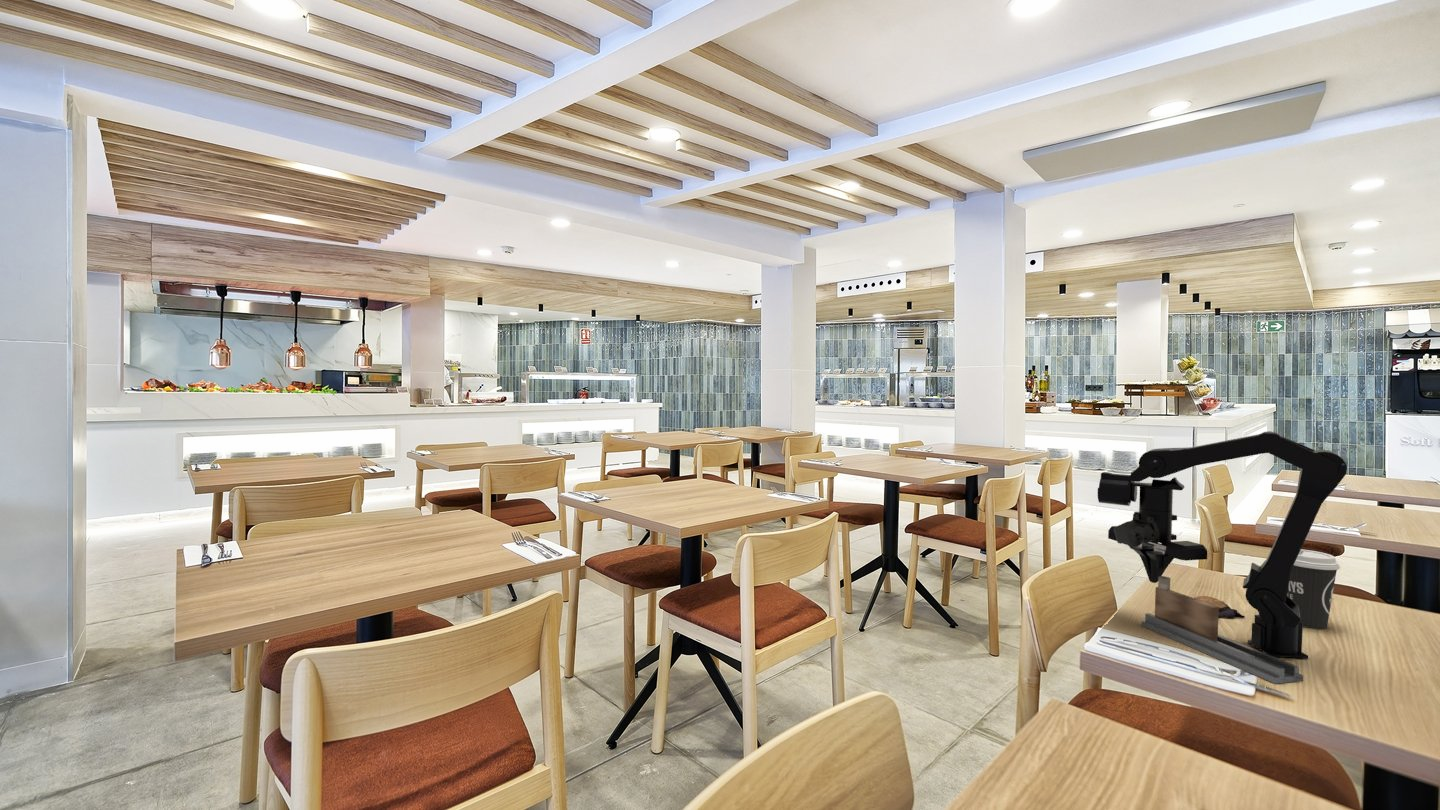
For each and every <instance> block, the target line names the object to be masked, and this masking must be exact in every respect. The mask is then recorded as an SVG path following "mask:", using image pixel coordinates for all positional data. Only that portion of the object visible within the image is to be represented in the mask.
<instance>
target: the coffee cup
mask: <svg viewBox="0 0 1440 810" xmlns="http://www.w3.org/2000/svg"><path fill="white" fill-rule="evenodd" d="M1338 570H1341V565H1340V564H1339V562H1338V561H1337V560H1336V557H1335V556H1334V555H1333V554H1329V553H1325V552H1322V551H1316V550H1308V549H1302V548H1301V550H1300V552H1299V554H1298V556H1297V559H1296V561H1295V563H1294V565H1293V567H1292V569H1291V574H1290V581H1289V587H1288V593H1287V596H1288V597H1289V598H1290V599H1291V600H1292V601H1293V602H1294V603H1296V604H1297V605H1298V606H1299V612H1300V622H1302V623H1303V628H1309V629H1314V630H1315V629H1317V630H1325V629H1327V628H1328V624H1329V619H1330V618H1329V617H1330V612H1331V606H1332V600H1333V594H1334V587H1335V582H1336V576H1337V571H1338Z"/></svg>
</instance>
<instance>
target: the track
mask: <svg viewBox="0 0 1440 810" xmlns="http://www.w3.org/2000/svg"><path fill="white" fill-rule="evenodd" d="M1144 616H1145V617H1144V620H1141V623H1140V624H1141V627H1143V628H1146V629H1148V630H1151V631H1153V632H1154V633H1157V634H1160V635H1162V636H1164V637H1167V638H1169V639H1172V640H1174V641H1176V642H1178V643H1180V644H1183V645H1185V646H1187V647H1188V648H1192V649H1194V650H1195V651H1199V652H1201V653H1203V654H1206V655H1208V656H1210V657H1212V658H1215V659H1217V660H1220V661H1222V662H1224V663H1226V664H1228V665H1231V666H1233V667H1236V668H1238V669H1240V670H1242V671H1243V672H1247V673H1249V674H1251V675H1254V676H1255V677H1258V678H1261V679H1263V680H1265V681H1268V682H1270V683H1273V684H1275V685H1277V684H1279V685H1280V684H1287V683H1296V682H1303V680H1304V675H1303V674H1302V673H1300V666H1298V665H1296V664H1293V663H1290V662H1289V661H1285V660H1283V659H1280V658H1277V657H1276V656H1271V655H1268V654H1266V653H1264V652H1263V651H1261V650H1259V649H1257V648H1256V649H1255V648H1253V647H1250V646H1248V645H1245V644H1243V643H1240V642H1238V641H1236V640H1233V639H1230V638H1228V637H1225V636H1222V635H1220V634H1218V641H1216V640H1214V639H1211V638H1209V637H1206V636H1204V635H1201V634H1199V633H1197V632H1194V631H1192V630H1189V629H1187V628H1184V627H1182V626H1179V625H1177V624H1174V623H1172V622H1170V621H1167V620H1165V619H1162V618H1160V617H1157V616H1155V614H1152V613H1149V612H1147V613H1145V615H1144Z"/></svg>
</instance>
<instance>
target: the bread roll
mask: <svg viewBox="0 0 1440 810" xmlns="http://www.w3.org/2000/svg"><path fill="white" fill-rule="evenodd" d="M1194 598H1195V599H1197V600H1200V601H1203V602H1206V603H1209V604H1212V605H1214V606H1217V607H1219V617H1218V619H1229V620H1230V619H1236V620H1244V619H1246V616H1245V615H1242V614H1241V613H1240V612H1239V611H1238V610H1237V609H1233V608H1231V607H1230V606H1229V605H1228V604H1227V603H1225V601H1223V600H1220V599H1219V598H1216V597H1213V596H1208V595H1200V596H1199V595H1198V596H1196V597H1194Z"/></svg>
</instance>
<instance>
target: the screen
mask: <svg viewBox="0 0 1440 810" xmlns="http://www.w3.org/2000/svg"><path fill="white" fill-rule="evenodd" d="M1154 594H1155V600H1154V601H1155V602H1154V615H1155V616H1157V617H1160V618H1162V619H1165V620H1167V621H1170V622H1172V623H1174V624H1177V625H1179V626H1182V627H1184V628H1187V629H1189V630H1192V631H1194V632H1197V633H1199V634H1201V635H1204V636H1206V637H1209V638H1211V639H1214V640H1216V641H1218V635H1219V618H1218V617H1219V607H1217V606H1214V605H1212V604H1209V603H1206V602H1203V601H1200V600H1197V599H1195V597H1191V596H1188V595H1185V594H1182V593H1180V592H1177V591H1174V590H1172V589H1171V577H1169V576H1163V575H1162V576H1159V579H1158V582H1157V587H1155V592H1154Z"/></svg>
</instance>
